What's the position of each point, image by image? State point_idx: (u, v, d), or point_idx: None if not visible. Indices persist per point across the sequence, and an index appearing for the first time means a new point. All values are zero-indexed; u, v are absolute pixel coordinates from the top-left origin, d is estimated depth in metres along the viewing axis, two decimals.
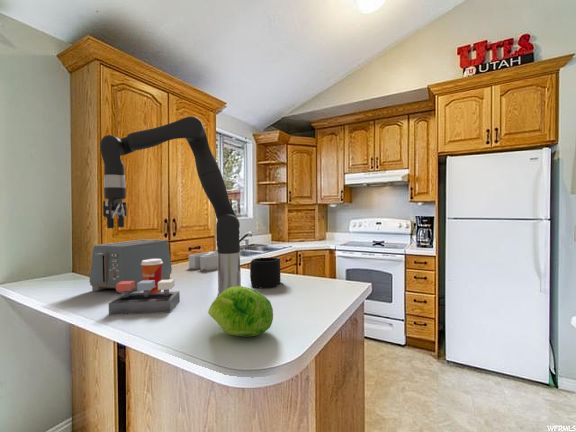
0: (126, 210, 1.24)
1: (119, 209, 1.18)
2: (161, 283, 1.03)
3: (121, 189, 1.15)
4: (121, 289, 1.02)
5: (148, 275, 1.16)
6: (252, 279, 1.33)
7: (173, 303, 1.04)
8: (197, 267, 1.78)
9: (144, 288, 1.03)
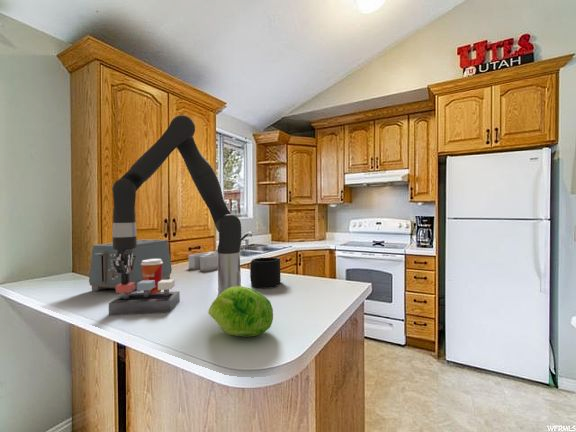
0: (133, 264, 1.08)
1: None
2: (161, 283, 1.03)
3: (132, 238, 1.03)
4: (121, 290, 1.02)
5: (148, 275, 1.16)
6: (252, 279, 1.33)
7: (173, 303, 1.04)
8: (197, 267, 1.77)
9: (144, 288, 1.03)
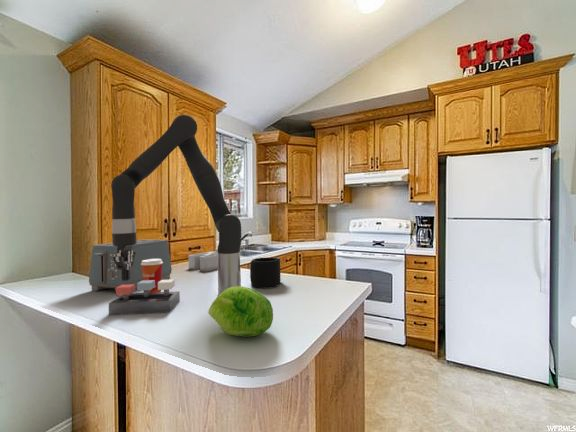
0: (133, 260, 1.08)
1: None
2: (161, 283, 1.03)
3: (131, 235, 1.02)
4: (121, 293, 1.02)
5: (148, 275, 1.16)
6: (252, 279, 1.33)
7: (173, 303, 1.04)
8: (197, 267, 1.77)
9: (144, 288, 1.03)
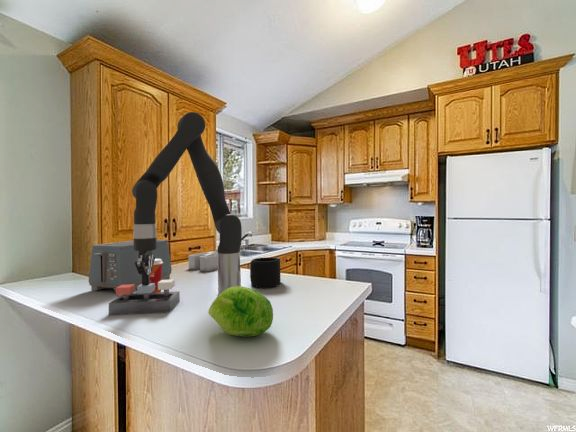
0: None
1: None
2: (161, 283, 1.03)
3: (152, 240, 1.03)
4: (121, 293, 1.02)
5: None
6: (252, 279, 1.33)
7: (173, 303, 1.04)
8: (197, 267, 1.77)
9: (144, 291, 1.03)
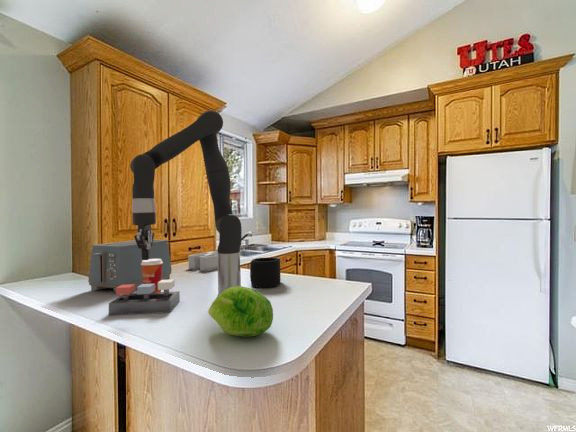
0: (152, 241, 1.09)
1: None
2: (161, 283, 1.03)
3: (151, 214, 1.03)
4: (121, 293, 1.02)
5: (148, 275, 1.16)
6: (252, 279, 1.33)
7: (173, 303, 1.04)
8: (197, 267, 1.77)
9: (144, 292, 1.03)
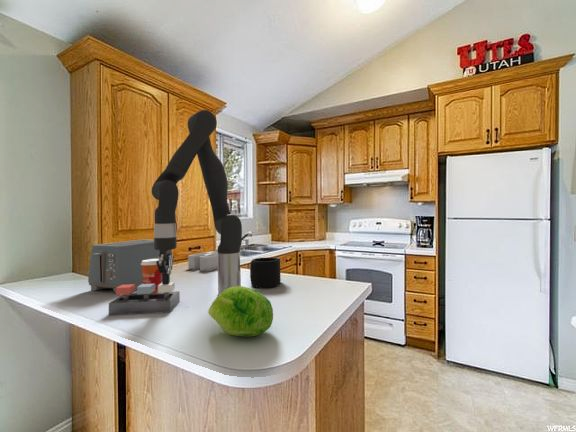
0: (172, 264, 1.10)
1: None
2: (161, 286, 1.03)
3: (173, 239, 1.04)
4: (121, 293, 1.02)
5: (148, 275, 1.16)
6: (252, 279, 1.33)
7: (173, 303, 1.04)
8: (197, 267, 1.76)
9: (144, 292, 1.03)
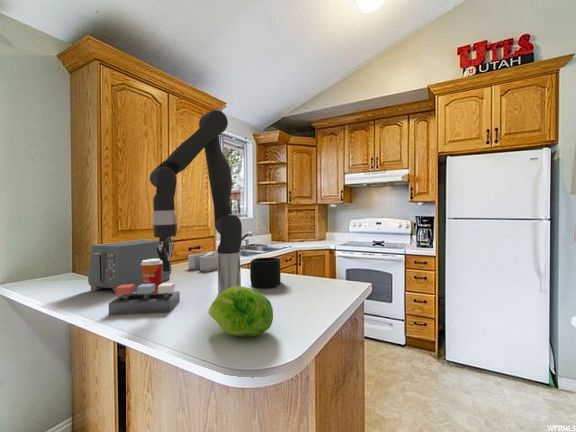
0: (172, 252, 1.10)
1: None
2: (161, 287, 1.03)
3: (172, 226, 1.04)
4: (121, 293, 1.02)
5: (148, 275, 1.16)
6: (252, 279, 1.33)
7: (173, 303, 1.04)
8: (197, 267, 1.76)
9: (144, 292, 1.03)
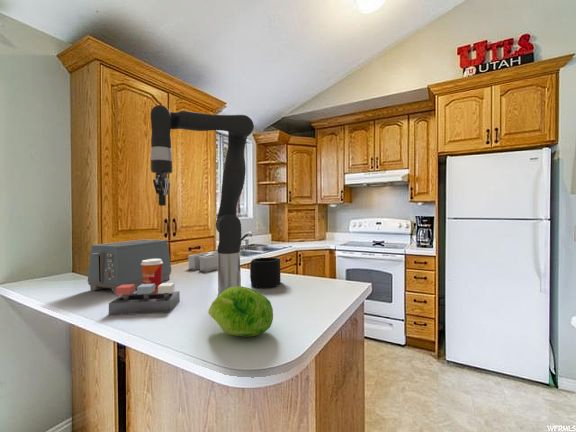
0: (168, 190, 1.16)
1: None
2: (161, 287, 1.03)
3: (169, 162, 1.10)
4: (121, 293, 1.02)
5: (148, 275, 1.16)
6: (252, 279, 1.33)
7: (173, 303, 1.04)
8: (197, 267, 1.76)
9: (144, 292, 1.03)
